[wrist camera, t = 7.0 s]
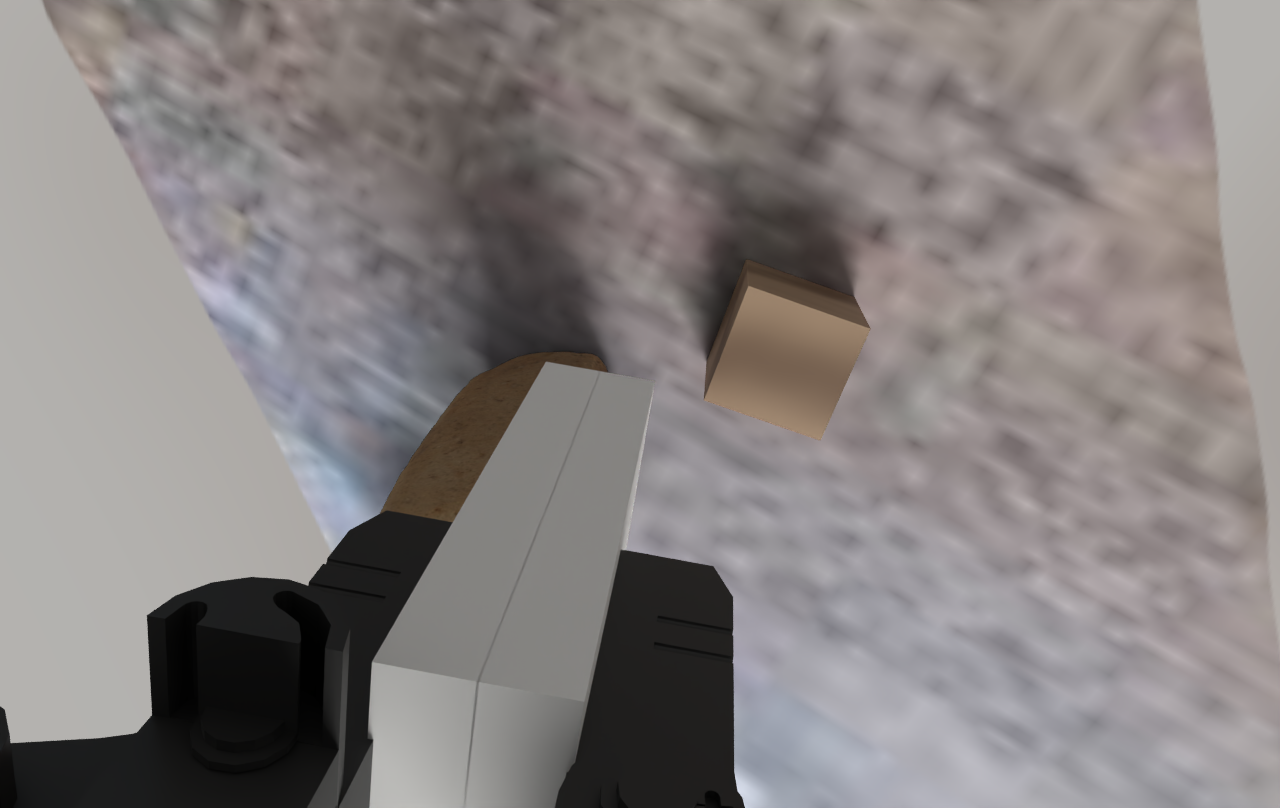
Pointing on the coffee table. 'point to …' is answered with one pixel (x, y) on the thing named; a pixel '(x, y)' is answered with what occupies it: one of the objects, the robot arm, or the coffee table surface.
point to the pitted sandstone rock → (470, 436)
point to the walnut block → (784, 350)
